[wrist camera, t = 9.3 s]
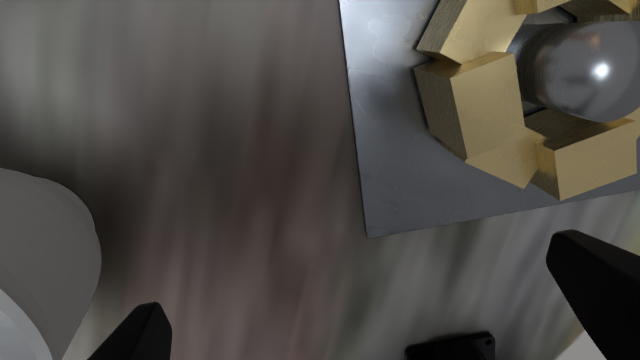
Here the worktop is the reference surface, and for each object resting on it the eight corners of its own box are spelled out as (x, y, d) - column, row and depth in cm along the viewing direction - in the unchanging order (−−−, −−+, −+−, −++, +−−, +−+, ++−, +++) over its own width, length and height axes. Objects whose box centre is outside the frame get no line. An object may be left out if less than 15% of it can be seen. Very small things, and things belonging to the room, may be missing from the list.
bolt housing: (645, 185, 23) (771, 238, 17) (366, 235, 23) (395, 308, 17) (722, -183, 16) (979, -309, 10) (323, -121, 16) (347, -214, 10)
